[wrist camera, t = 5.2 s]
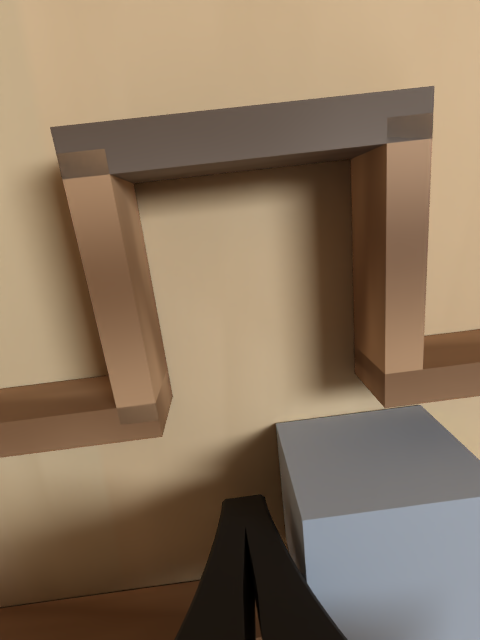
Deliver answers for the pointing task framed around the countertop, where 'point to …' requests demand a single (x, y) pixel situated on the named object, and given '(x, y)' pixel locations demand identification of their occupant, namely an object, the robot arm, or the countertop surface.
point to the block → (385, 523)
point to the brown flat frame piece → (141, 313)
